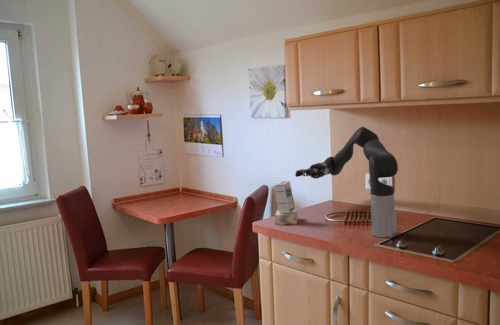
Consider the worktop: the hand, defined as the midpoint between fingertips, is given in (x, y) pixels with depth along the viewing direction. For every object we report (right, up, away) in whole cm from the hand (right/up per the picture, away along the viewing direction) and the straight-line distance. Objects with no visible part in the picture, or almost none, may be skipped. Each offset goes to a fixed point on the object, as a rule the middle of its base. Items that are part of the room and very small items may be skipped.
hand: (303, 174), depth 221 cm
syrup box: (-9, -18, -7) cm, 21 cm away
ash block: (-9, -23, -6) cm, 25 cm away
